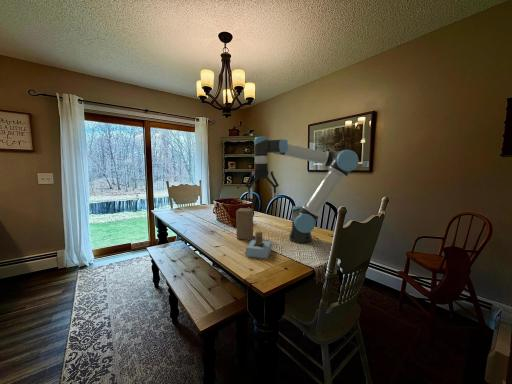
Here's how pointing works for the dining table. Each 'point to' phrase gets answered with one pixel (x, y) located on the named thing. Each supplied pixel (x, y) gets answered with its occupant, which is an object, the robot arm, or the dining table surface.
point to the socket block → (258, 249)
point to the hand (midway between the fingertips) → (262, 198)
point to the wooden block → (244, 223)
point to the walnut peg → (258, 239)
